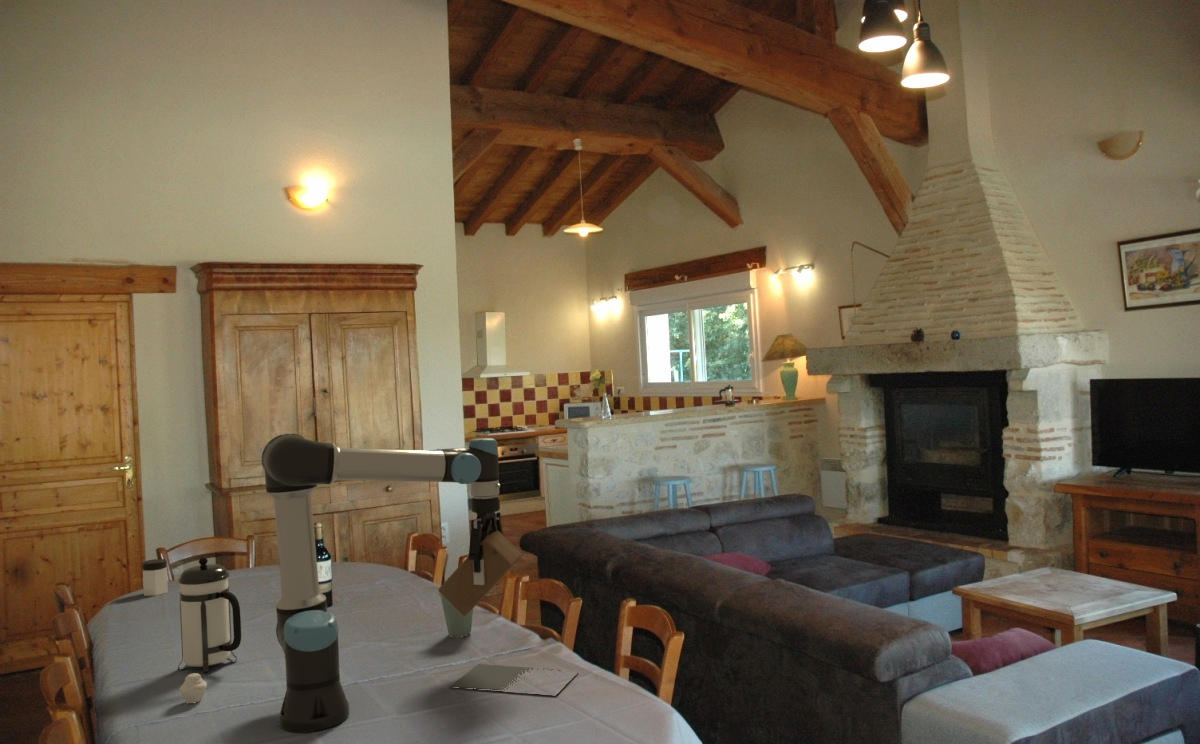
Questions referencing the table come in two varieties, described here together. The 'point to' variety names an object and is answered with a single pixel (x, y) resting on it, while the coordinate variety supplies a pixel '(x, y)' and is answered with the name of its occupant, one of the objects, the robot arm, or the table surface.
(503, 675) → the mat
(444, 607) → the disposable coffee cup
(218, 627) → the coffee press
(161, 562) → the jar
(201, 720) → the table surface
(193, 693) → the beige rounded lump
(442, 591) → the wooden block
